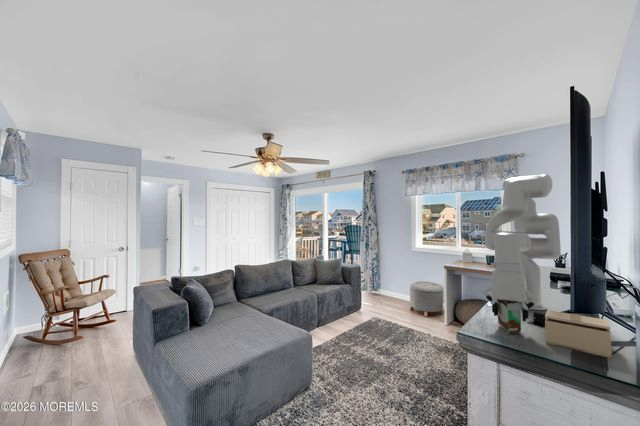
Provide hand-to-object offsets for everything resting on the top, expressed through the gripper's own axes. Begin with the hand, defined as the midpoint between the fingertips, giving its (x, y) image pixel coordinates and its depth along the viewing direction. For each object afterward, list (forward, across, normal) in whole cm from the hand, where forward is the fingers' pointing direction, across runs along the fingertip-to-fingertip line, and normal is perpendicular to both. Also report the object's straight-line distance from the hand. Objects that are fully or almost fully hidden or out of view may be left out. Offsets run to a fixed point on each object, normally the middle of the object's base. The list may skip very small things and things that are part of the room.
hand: (509, 317), depth 95 cm
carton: (+4, +17, 0) cm, 18 cm away
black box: (+6, +7, +17) cm, 19 cm away
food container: (+4, +1, 0) cm, 4 cm away
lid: (-3, +17, 0) cm, 17 cm away
